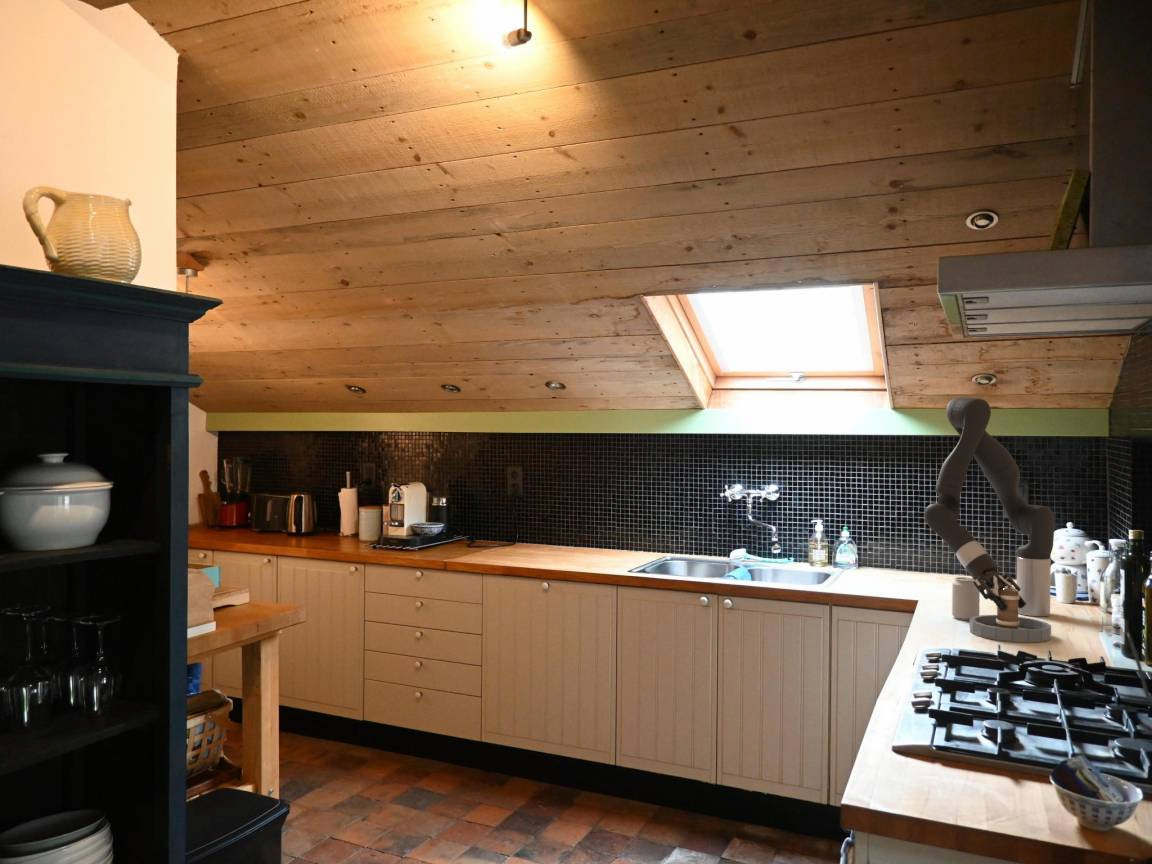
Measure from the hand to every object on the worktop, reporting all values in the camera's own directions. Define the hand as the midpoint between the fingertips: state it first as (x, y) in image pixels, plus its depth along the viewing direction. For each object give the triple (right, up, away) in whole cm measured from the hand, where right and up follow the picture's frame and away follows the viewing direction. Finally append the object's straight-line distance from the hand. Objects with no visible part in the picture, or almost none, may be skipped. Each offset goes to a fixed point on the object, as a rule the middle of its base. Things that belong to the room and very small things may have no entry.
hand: (1014, 608), depth 247 cm
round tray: (-1, -7, +1) cm, 8 cm away
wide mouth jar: (-4, -8, +22) cm, 24 cm away
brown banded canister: (-1, -7, +1) cm, 7 cm away
